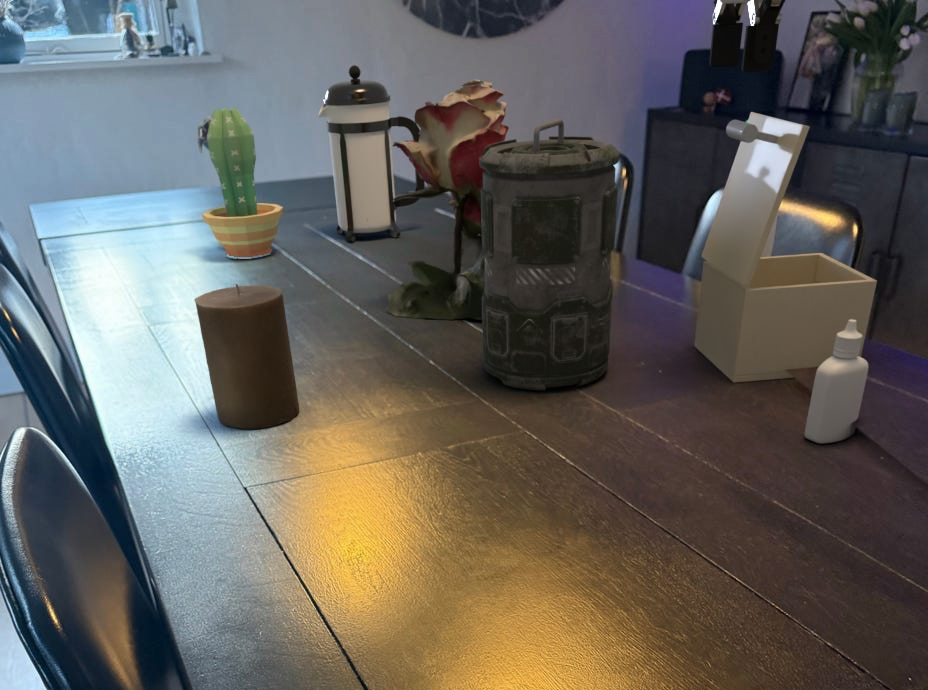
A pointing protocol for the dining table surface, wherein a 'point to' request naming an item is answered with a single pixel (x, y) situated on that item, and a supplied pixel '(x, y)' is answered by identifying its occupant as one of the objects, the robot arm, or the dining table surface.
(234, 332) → the pillar candle
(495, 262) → the canister
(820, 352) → the beige open box
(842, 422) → the eye dropper bottle
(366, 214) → the coffee press
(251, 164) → the potted cactus
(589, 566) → the dining table surface
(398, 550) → the dining table surface
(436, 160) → the red and cream rose
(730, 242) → the lid
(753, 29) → the robot arm
